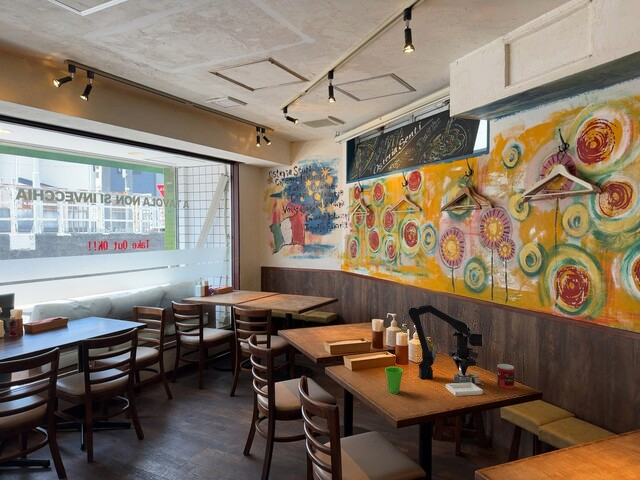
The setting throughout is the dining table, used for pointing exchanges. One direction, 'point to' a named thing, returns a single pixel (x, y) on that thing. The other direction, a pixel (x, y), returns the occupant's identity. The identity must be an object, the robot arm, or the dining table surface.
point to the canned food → (505, 376)
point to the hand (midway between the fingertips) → (462, 374)
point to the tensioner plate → (467, 378)
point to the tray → (464, 389)
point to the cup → (394, 379)
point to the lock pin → (460, 373)
